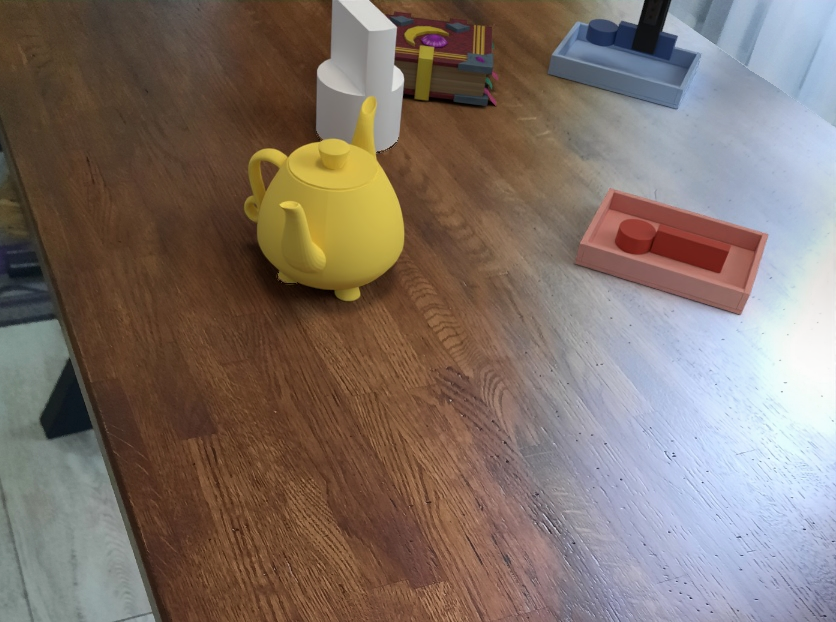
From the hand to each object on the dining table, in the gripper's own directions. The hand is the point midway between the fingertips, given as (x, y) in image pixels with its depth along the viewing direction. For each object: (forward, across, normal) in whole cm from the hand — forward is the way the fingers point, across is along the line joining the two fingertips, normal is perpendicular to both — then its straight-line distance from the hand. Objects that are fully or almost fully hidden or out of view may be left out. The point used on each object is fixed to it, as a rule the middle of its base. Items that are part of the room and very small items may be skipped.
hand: (644, 47), depth 111 cm
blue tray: (+3, 0, -2) cm, 4 cm away
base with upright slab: (+4, +31, -24) cm, 39 cm away
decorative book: (+4, +15, -22) cm, 27 cm away
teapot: (+4, +55, -17) cm, 58 cm away
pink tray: (+3, +37, +12) cm, 39 cm away
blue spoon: (0, 0, -2) cm, 2 cm away
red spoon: (+3, +37, +12) cm, 39 cm away
